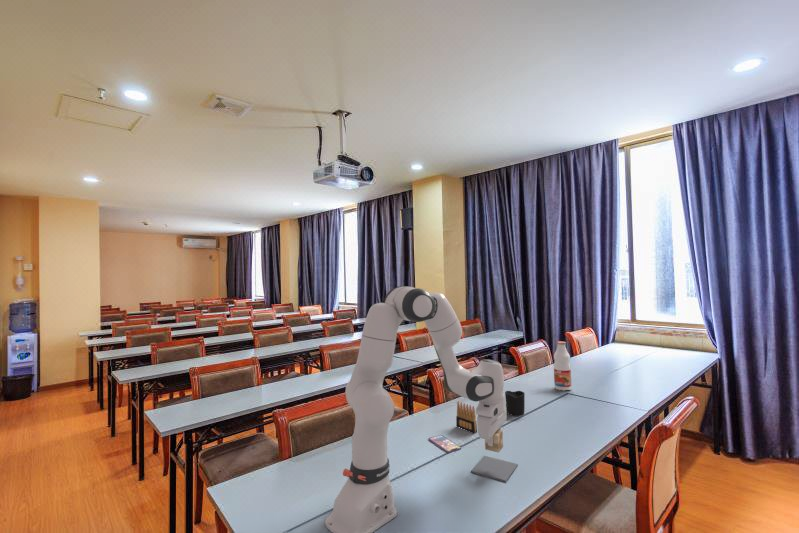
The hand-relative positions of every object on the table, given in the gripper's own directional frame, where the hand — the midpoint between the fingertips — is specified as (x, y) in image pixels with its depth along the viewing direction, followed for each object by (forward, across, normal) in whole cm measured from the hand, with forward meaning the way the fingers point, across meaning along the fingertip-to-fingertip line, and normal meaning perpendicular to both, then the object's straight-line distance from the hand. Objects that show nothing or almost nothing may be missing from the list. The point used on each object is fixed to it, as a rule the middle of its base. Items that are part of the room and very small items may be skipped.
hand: (494, 441), depth 140 cm
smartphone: (+10, -9, -25) cm, 29 cm away
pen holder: (+10, -58, -10) cm, 60 cm away
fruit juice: (+11, -109, +3) cm, 109 cm away
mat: (+10, 0, 0) cm, 10 cm away
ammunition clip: (+10, -27, -23) cm, 37 cm away
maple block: (+2, 0, 0) cm, 2 cm away
